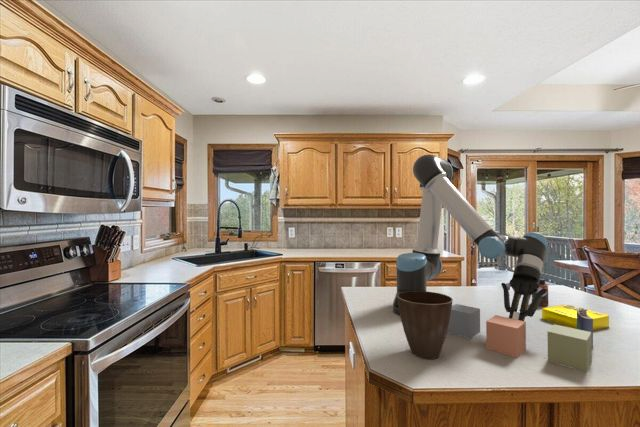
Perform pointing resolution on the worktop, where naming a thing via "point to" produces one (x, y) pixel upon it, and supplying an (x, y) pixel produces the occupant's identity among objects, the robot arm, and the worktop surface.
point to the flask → (585, 322)
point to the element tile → (573, 316)
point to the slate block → (464, 321)
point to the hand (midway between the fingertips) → (513, 332)
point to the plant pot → (425, 321)
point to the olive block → (570, 347)
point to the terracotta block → (506, 335)
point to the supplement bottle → (543, 286)
